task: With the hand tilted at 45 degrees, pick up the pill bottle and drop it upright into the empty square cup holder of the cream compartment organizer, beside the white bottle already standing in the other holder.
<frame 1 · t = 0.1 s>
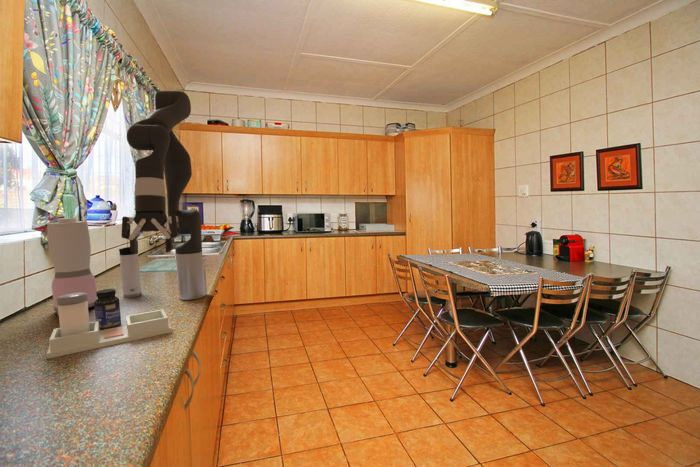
hand: (151, 253, 100), 22 cm above the table, tool pointing down, fingers open, 8 cm apart
pill bottle: (109, 327, 106), on the table
blender: (79, 308, 126), on the table
travel mug: (133, 296, 142), on the table
cream compartment organizer: (114, 337, 97), on the table
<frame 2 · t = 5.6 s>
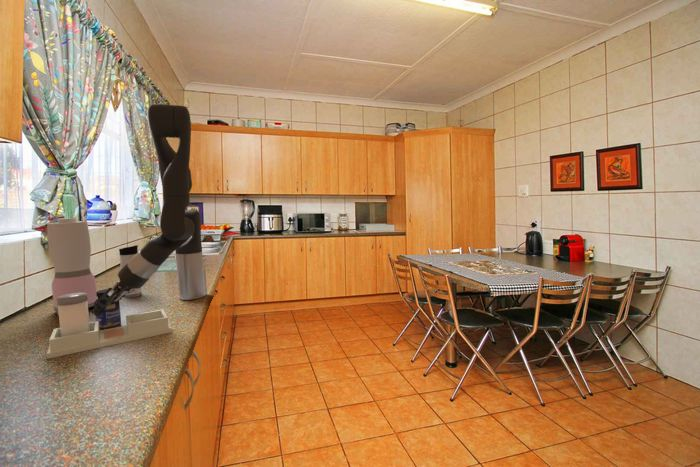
hand: (101, 310, 105), 5 cm above the table, tool tilted 45°, fingers closed on pill bottle, 6 cm apart
pill bottle: (109, 327, 106), on the table, touching gripper
everything else where it was.
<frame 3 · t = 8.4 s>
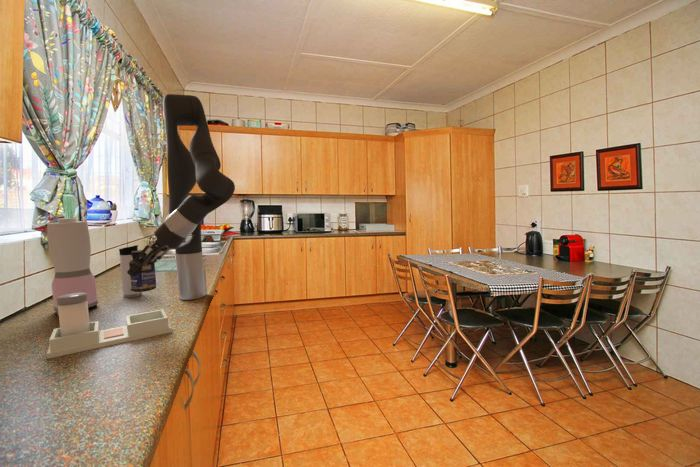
hand: (136, 272, 100), 17 cm above the table, tool tilted 45°, fingers closed on pill bottle, 6 cm apart
pill bottle: (144, 290, 100), point 12 cm above the table, touching gripper
everything else where it was.
when the fingers open (8 cm above the table, at t = 11.1 s): pill bottle drops 1 cm, resting on cream compartment organizer.
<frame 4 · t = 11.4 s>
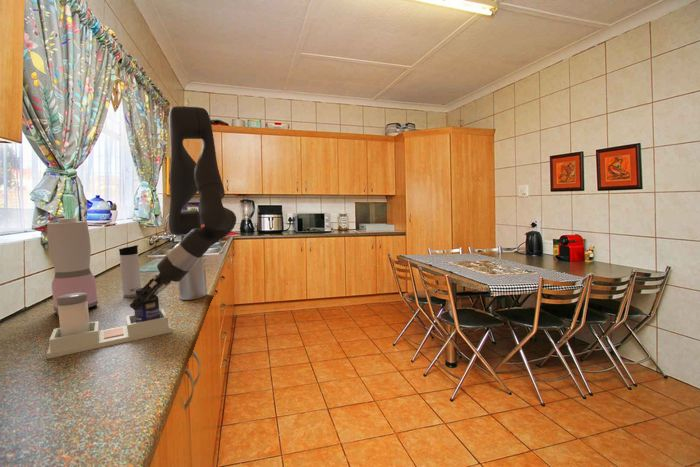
hand: (140, 303, 100), 8 cm above the table, tool tilted 45°, fingers open, 8 cm apart
pill bottle: (148, 327, 102), point 1 cm above the table, touching cream compartment organizer
everything else where it was.
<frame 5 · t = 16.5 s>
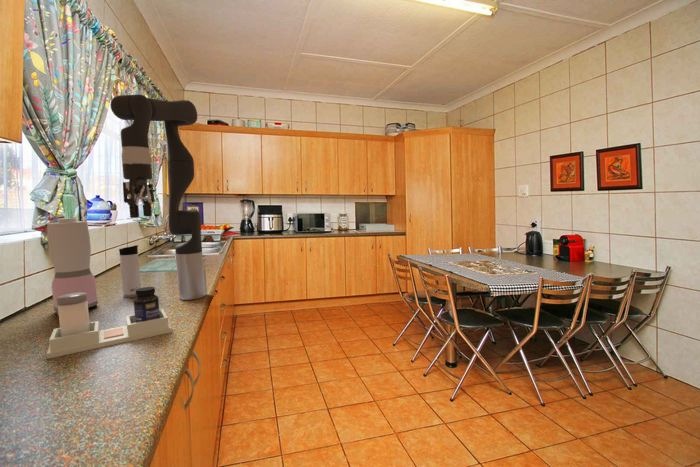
hand: (141, 217, 109), 32 cm above the table, tool pointing down, fingers open, 8 cm apart
nothing on the table moved.
at the end: pill bottle 0.3 cm from the target spot, point 1.0 cm above the table; pill bottle tilted 0°; the gripper is holding nothing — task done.
